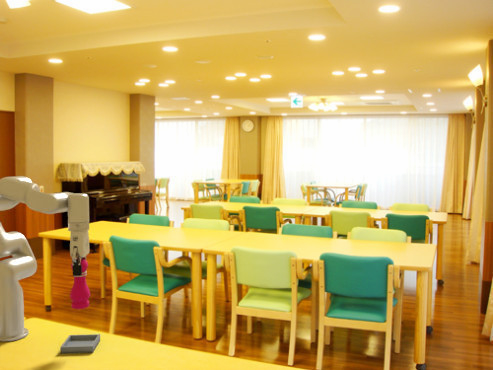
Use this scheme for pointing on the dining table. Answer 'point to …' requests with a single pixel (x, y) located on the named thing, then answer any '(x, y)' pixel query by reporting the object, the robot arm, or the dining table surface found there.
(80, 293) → the pepper mill
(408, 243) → the dining table surface
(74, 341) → the tray
